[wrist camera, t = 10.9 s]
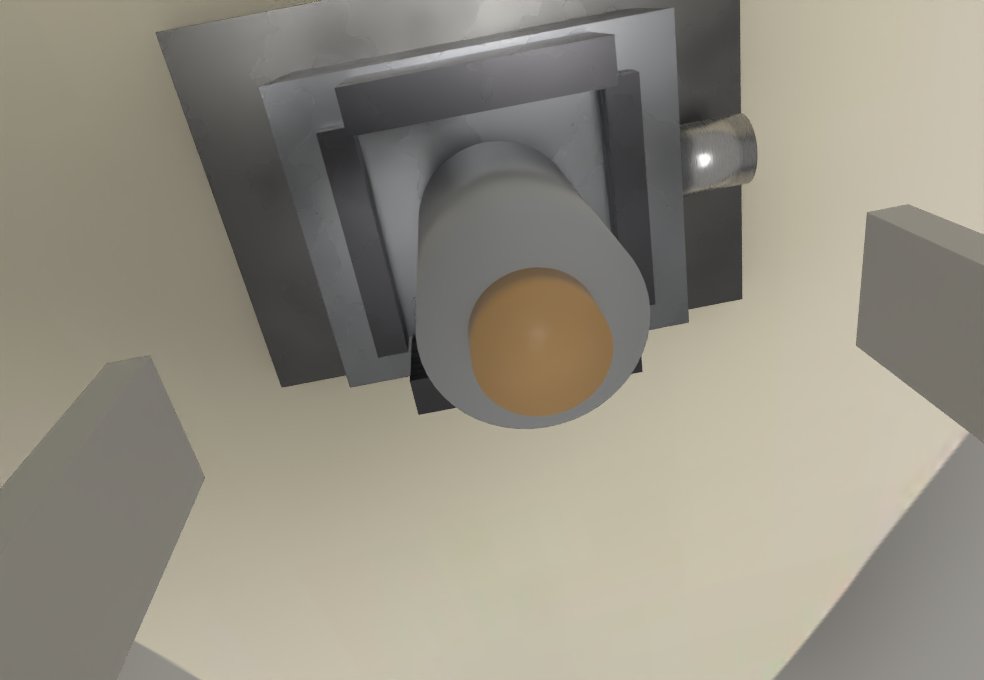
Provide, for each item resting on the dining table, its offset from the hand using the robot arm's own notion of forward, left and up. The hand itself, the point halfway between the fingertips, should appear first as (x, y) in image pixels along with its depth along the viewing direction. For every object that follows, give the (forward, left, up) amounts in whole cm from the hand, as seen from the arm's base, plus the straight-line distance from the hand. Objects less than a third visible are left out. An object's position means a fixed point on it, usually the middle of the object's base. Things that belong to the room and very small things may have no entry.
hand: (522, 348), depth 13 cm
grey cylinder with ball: (0, 0, -10) cm, 10 cm away
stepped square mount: (0, 0, -16) cm, 16 cm away
